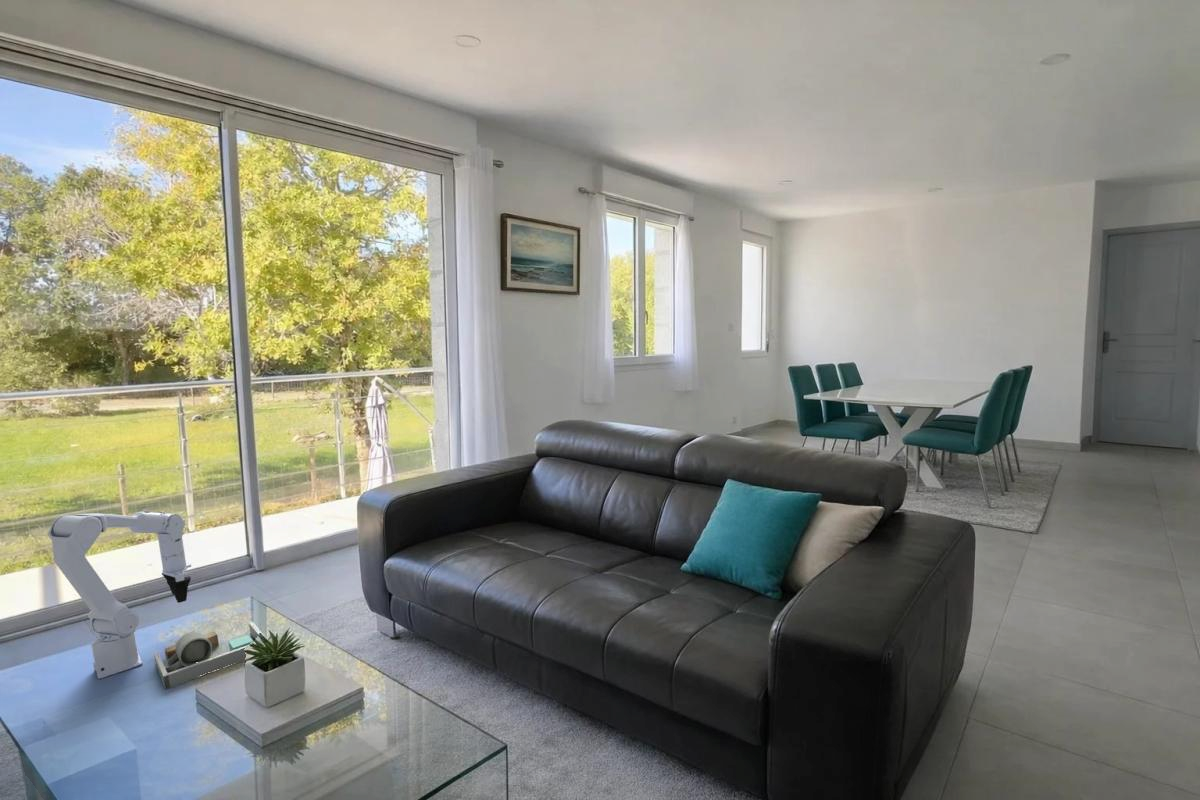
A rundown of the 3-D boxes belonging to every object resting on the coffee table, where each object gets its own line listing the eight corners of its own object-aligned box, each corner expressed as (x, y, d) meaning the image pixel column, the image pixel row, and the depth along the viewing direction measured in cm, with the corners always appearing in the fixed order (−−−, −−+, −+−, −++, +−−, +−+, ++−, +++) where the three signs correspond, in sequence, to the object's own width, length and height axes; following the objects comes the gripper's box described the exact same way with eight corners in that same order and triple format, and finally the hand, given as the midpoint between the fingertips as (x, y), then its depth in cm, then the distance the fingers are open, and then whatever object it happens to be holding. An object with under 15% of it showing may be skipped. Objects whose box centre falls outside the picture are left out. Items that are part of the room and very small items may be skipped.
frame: (165, 689, 161) (163, 676, 160) (155, 666, 172) (153, 654, 171) (269, 651, 177) (267, 639, 176) (254, 632, 188) (252, 621, 187)
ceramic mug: (206, 649, 179) (202, 624, 178) (214, 660, 173) (210, 634, 172) (161, 666, 172) (156, 640, 171) (168, 678, 166) (163, 651, 165)
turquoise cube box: (234, 658, 174) (233, 648, 174) (229, 651, 178) (228, 641, 178) (254, 651, 178) (253, 640, 177) (249, 644, 181) (248, 634, 181)
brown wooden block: (169, 664, 173) (167, 652, 172) (166, 660, 175) (164, 648, 175) (218, 646, 181) (217, 634, 181) (215, 642, 184) (214, 631, 183)
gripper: (193, 555, 185) (200, 600, 187) (183, 543, 195) (190, 585, 197) (164, 563, 180) (171, 608, 182) (156, 550, 191) (162, 593, 193)
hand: (179, 597), depth 189 cm, fingers open, 7 cm apart
